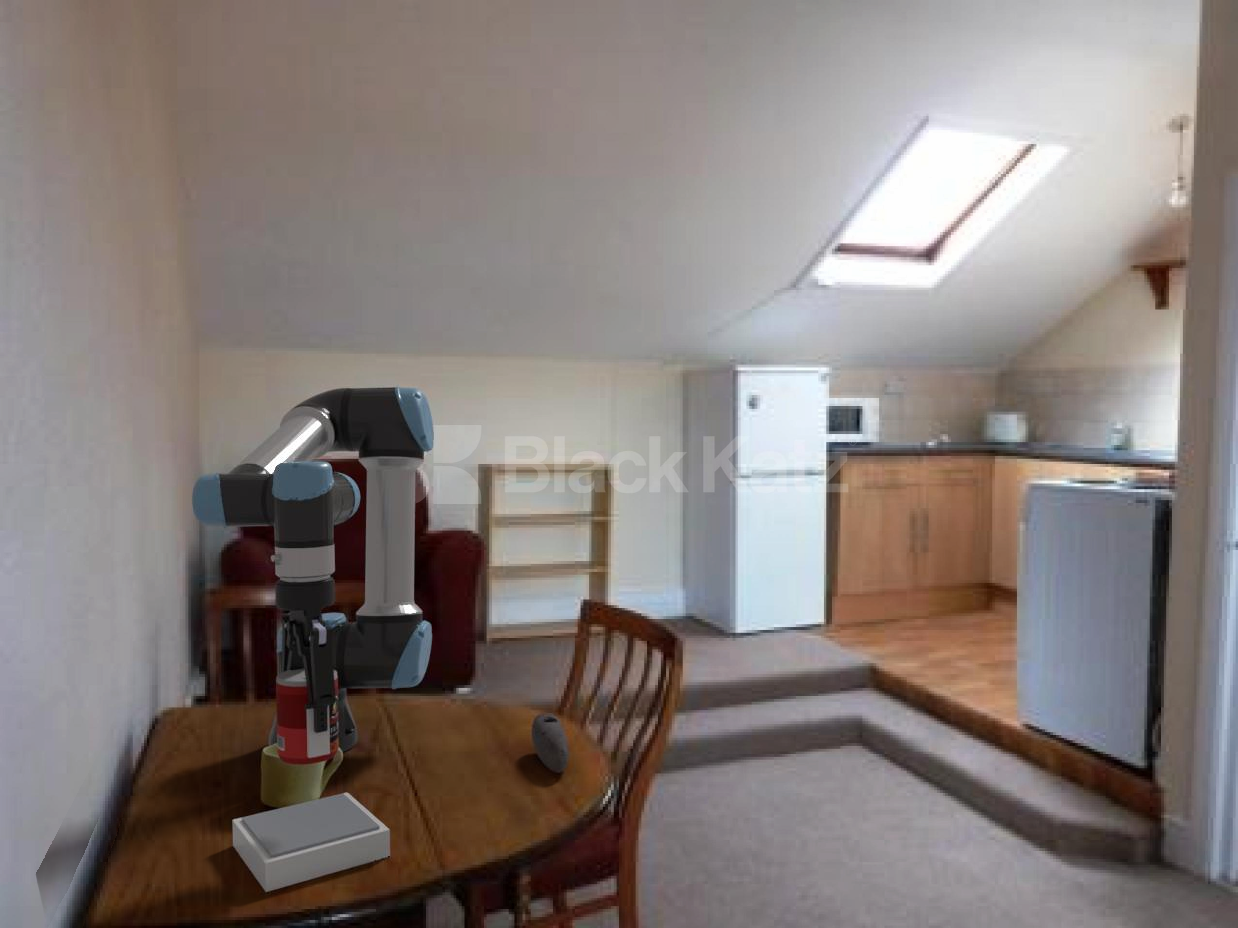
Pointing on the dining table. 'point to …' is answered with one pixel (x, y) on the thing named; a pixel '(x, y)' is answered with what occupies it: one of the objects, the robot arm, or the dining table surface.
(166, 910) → the dining table surface
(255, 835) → the tray
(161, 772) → the dining table surface
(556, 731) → the perforated stone tool
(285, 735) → the canned food
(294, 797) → the mug
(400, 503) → the robot arm
